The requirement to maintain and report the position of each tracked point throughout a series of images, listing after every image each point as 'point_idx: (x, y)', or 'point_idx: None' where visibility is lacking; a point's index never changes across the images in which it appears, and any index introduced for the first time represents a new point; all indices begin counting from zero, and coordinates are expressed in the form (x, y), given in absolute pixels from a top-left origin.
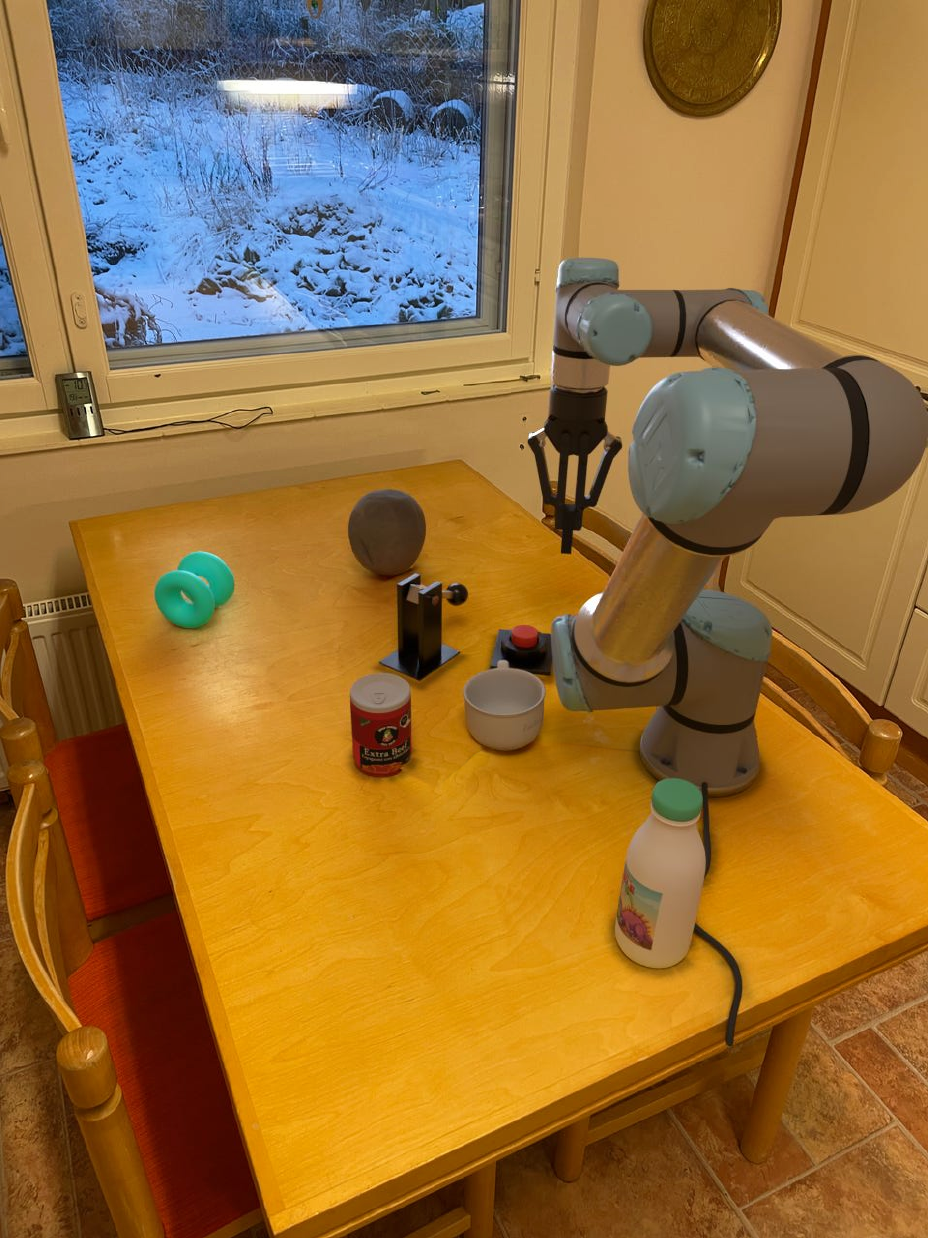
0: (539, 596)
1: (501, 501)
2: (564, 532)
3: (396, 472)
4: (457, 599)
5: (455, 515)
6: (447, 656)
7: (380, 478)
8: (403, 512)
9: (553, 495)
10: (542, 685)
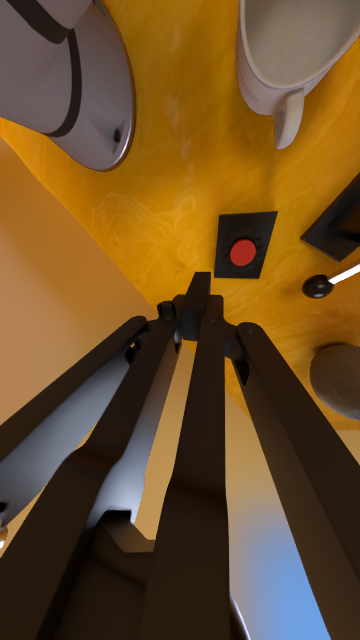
0: None
1: (237, 402)
2: (204, 286)
3: None
4: (320, 275)
5: None
6: (320, 225)
7: None
8: (358, 394)
9: (231, 348)
10: (243, 22)
